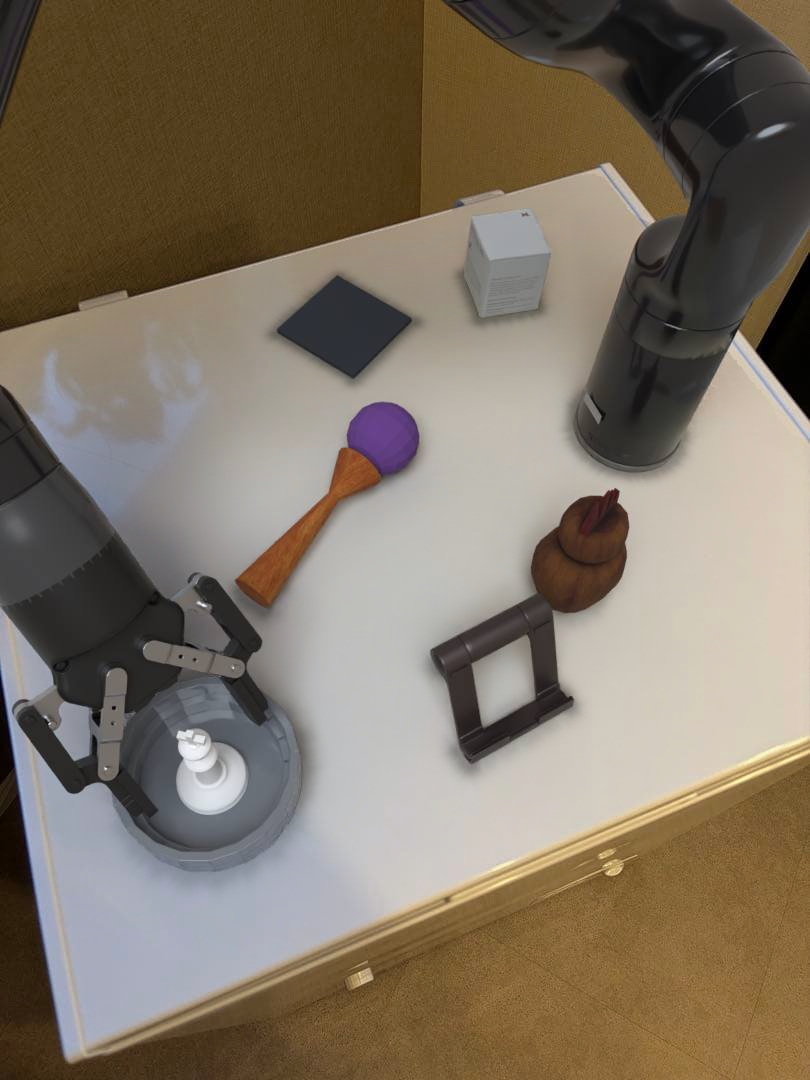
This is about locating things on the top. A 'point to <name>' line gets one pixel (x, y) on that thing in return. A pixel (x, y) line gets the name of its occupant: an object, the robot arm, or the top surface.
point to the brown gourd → (582, 554)
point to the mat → (344, 326)
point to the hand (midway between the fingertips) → (206, 763)
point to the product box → (506, 262)
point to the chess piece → (209, 773)
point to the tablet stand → (484, 640)
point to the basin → (157, 759)
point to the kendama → (338, 491)
